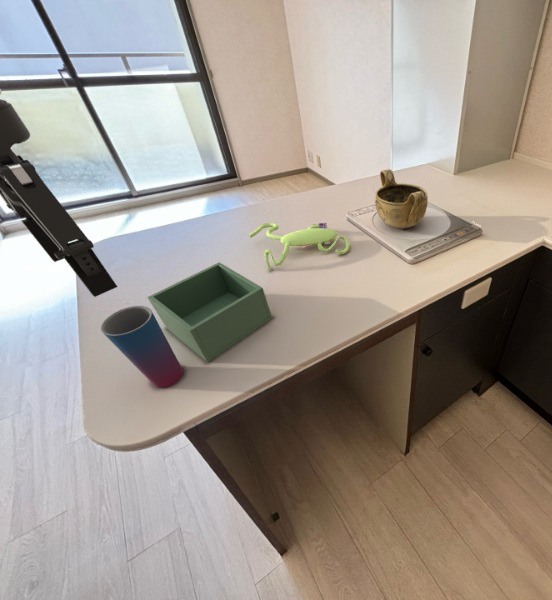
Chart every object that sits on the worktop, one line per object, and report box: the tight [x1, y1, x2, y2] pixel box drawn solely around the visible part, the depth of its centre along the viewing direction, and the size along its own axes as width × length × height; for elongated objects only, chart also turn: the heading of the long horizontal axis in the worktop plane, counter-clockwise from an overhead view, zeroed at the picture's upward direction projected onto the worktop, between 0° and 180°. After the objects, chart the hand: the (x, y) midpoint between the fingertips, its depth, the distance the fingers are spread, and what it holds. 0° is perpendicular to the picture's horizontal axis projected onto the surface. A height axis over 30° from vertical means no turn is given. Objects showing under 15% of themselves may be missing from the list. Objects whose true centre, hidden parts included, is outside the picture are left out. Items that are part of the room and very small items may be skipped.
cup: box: [100, 305, 184, 389], centre depth 56 cm, size 7×7×15 cm
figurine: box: [248, 222, 351, 271], centre depth 95 cm, size 18×27×6 cm
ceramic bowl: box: [374, 168, 429, 230], centre depth 105 cm, size 22×17×15 cm
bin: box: [147, 262, 273, 363], centre depth 69 cm, size 16×16×9 cm
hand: (83, 273), depth 46 cm, fingers open, 13 cm apart
